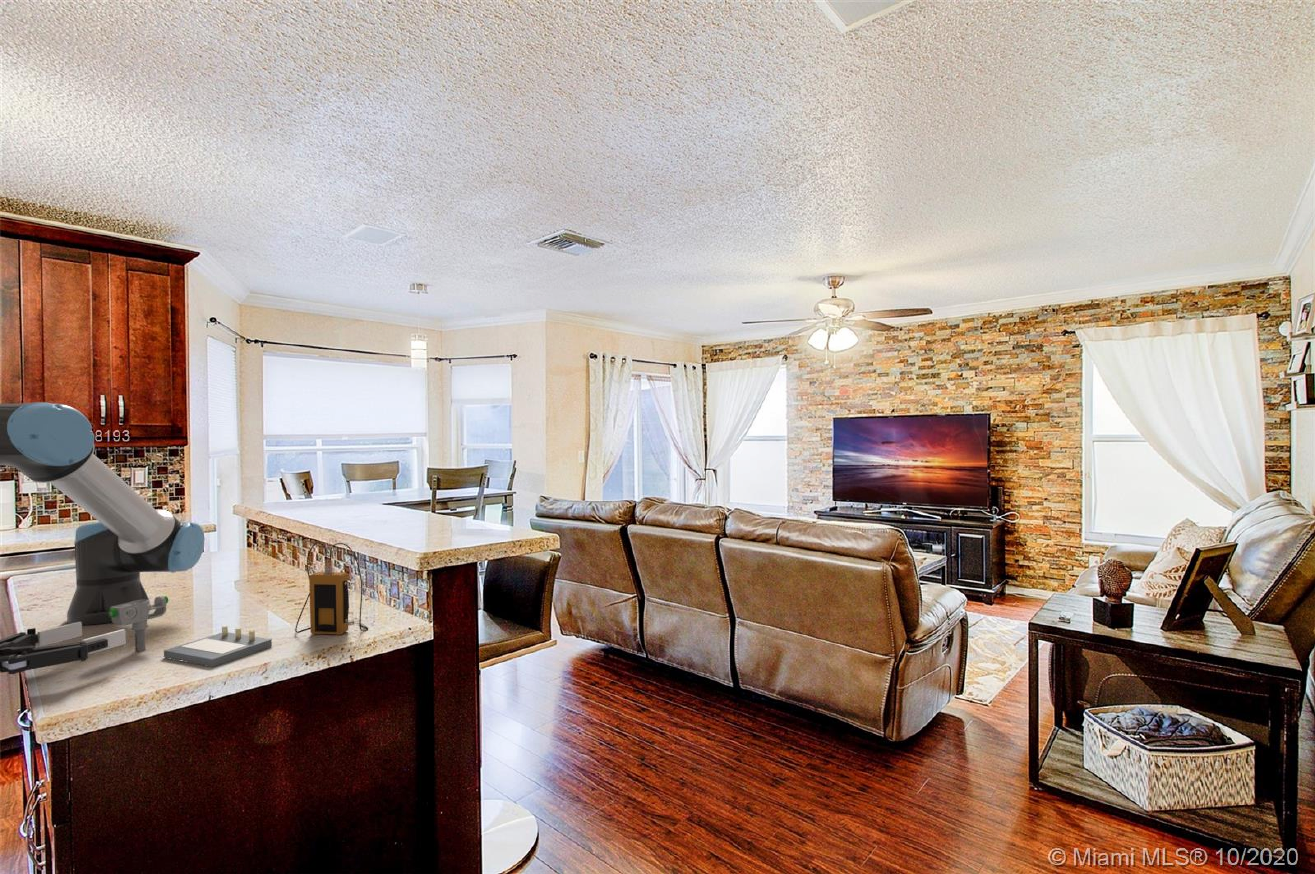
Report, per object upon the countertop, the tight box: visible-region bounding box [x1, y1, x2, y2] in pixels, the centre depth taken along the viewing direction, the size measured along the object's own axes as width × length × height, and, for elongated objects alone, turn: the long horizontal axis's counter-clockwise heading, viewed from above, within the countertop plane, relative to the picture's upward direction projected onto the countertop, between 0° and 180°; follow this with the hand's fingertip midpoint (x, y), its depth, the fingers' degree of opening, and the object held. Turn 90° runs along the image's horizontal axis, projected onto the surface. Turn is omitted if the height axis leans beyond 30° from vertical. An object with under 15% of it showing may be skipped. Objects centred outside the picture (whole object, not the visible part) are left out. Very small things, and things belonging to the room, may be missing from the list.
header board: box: [163, 625, 273, 668], centre depth 129 cm, size 14×12×4 cm
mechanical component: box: [108, 595, 169, 652], centre depth 130 cm, size 3×10×10 cm, turn 161°
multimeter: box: [294, 541, 369, 636], centre depth 144 cm, size 15×10×20 cm
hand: (102, 632), depth 124 cm, fingers open, 13 cm apart
